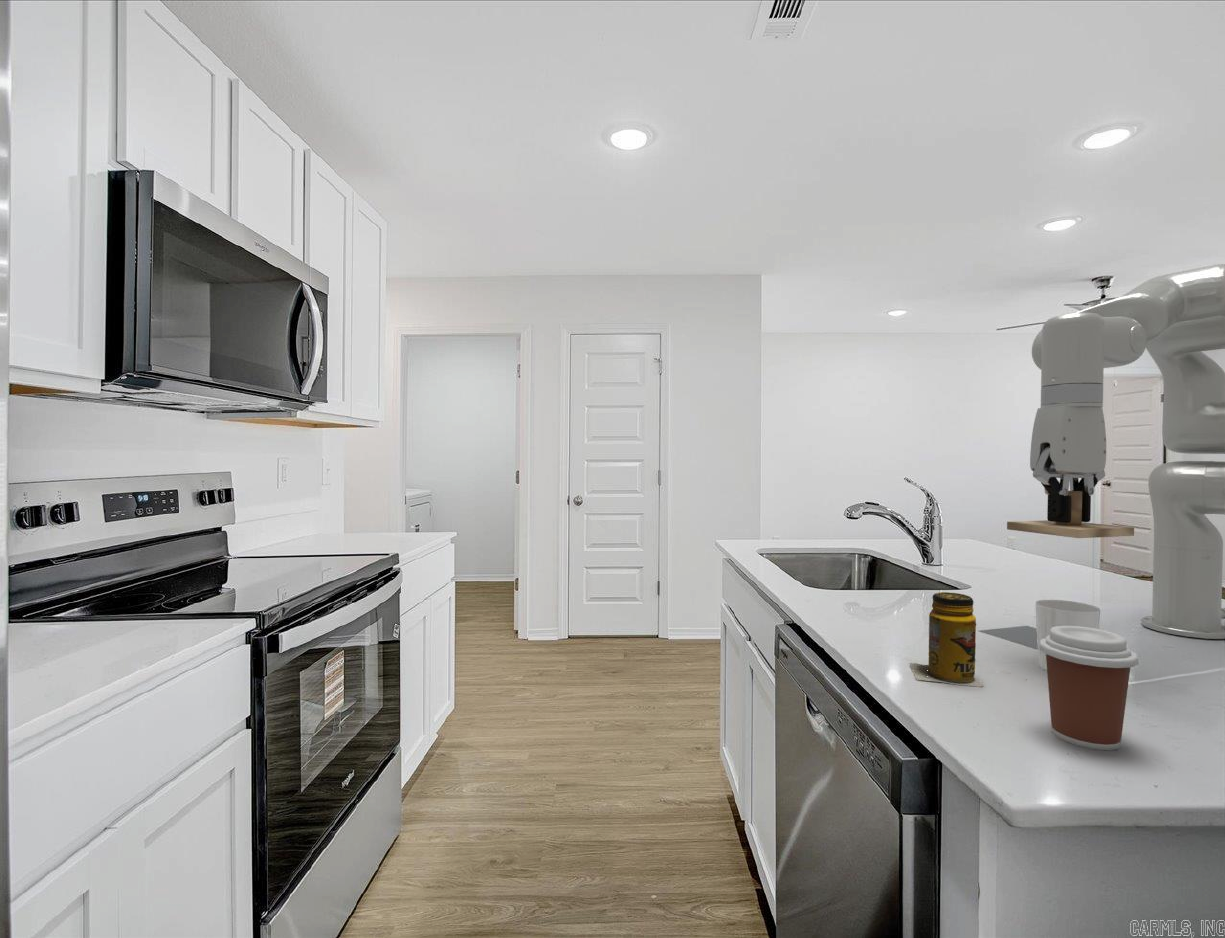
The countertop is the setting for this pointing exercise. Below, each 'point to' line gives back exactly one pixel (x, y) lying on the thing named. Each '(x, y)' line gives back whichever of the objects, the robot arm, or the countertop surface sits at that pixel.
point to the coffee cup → (1087, 685)
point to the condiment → (950, 641)
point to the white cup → (1062, 619)
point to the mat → (1016, 635)
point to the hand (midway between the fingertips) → (1068, 520)
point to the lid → (1072, 524)
